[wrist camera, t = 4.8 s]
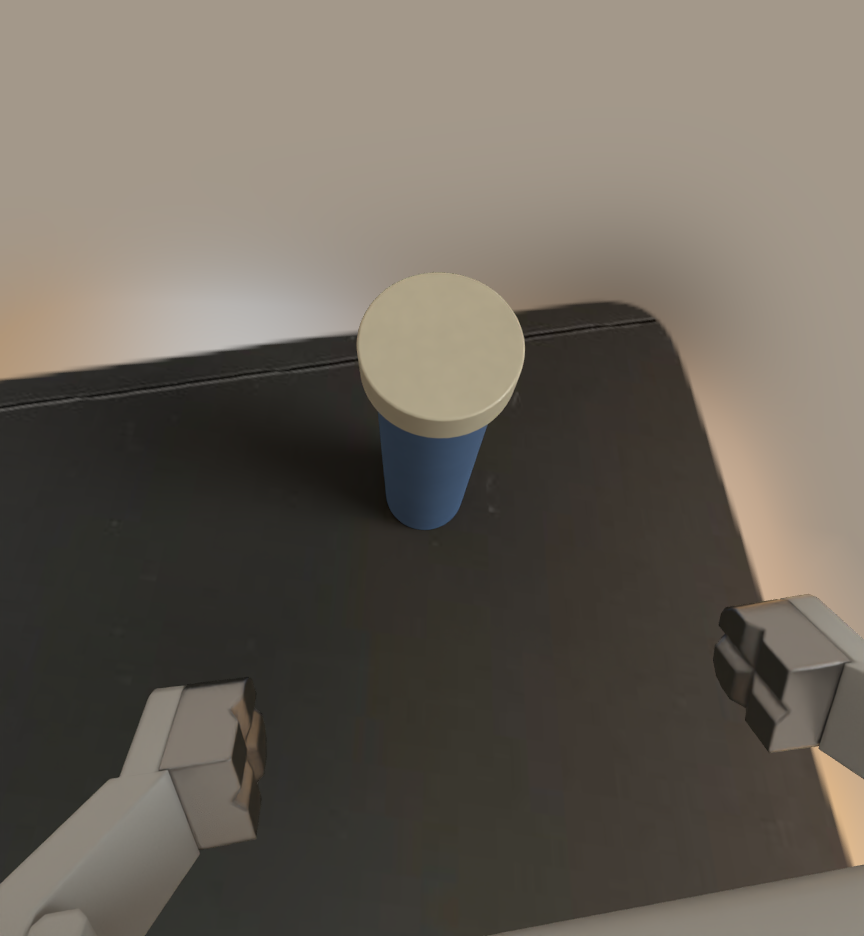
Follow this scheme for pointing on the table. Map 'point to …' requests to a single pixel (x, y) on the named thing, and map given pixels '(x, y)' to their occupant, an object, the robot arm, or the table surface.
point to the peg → (436, 385)
